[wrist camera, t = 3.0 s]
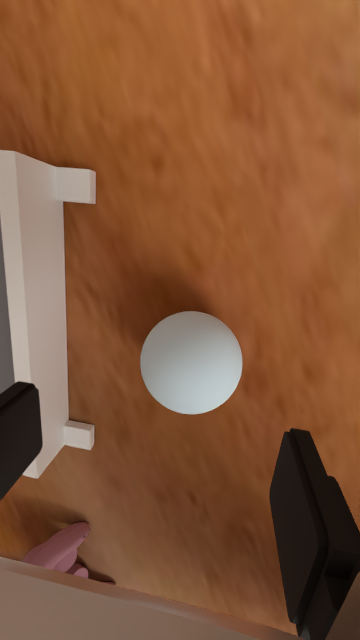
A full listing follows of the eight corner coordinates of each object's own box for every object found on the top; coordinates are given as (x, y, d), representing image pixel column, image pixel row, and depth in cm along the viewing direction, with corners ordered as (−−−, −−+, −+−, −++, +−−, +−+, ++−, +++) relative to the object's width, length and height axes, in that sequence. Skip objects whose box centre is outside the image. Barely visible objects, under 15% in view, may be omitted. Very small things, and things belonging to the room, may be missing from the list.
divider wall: (95, 171, 19) (57, 153, 15) (94, 443, 26) (67, 485, 21) (14, 165, 20) (-46, 146, 16) (32, 431, 26) (-5, 468, 22)
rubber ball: (247, 307, 20) (254, 339, 14) (233, 388, 22) (234, 447, 16) (157, 295, 21) (127, 321, 15) (152, 374, 23) (123, 425, 17)
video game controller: (66, 505, 31) (-2, 570, 26) (90, 521, 28) (19, 598, 23) (97, 572, 33) (41, 645, 28) (123, 593, 30) (65, 679, 25)
